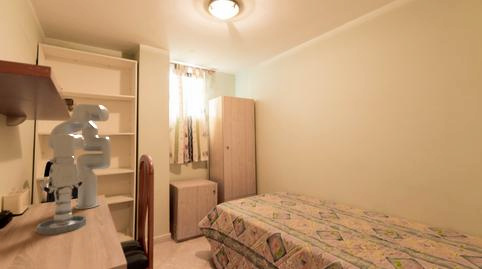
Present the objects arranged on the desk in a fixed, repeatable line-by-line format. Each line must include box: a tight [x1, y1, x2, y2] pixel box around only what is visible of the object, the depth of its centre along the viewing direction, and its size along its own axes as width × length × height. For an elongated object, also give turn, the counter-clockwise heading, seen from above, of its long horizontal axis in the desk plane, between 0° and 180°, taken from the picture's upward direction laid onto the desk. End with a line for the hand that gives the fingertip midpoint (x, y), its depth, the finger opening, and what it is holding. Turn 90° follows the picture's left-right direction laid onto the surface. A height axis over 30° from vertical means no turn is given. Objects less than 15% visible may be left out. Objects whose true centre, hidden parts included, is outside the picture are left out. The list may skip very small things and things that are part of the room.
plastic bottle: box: [53, 186, 74, 225], centre depth 103 cm, size 6×7×20 cm
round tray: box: [36, 215, 87, 236], centre depth 102 cm, size 17×17×2 cm
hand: (63, 199), depth 103 cm, fingers open, 9 cm apart
